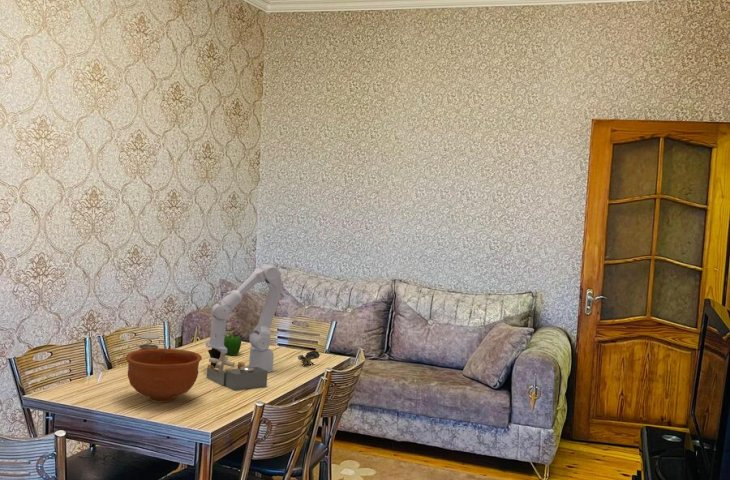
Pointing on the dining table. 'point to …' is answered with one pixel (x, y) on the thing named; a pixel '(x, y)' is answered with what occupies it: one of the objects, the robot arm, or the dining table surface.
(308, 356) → the eagle figurine
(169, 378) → the bowl
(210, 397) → the dining table surface
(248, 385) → the motor mount
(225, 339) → the bell pepper
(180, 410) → the dining table surface
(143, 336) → the french press
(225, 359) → the pipe connector
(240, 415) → the dining table surface
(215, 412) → the dining table surface
